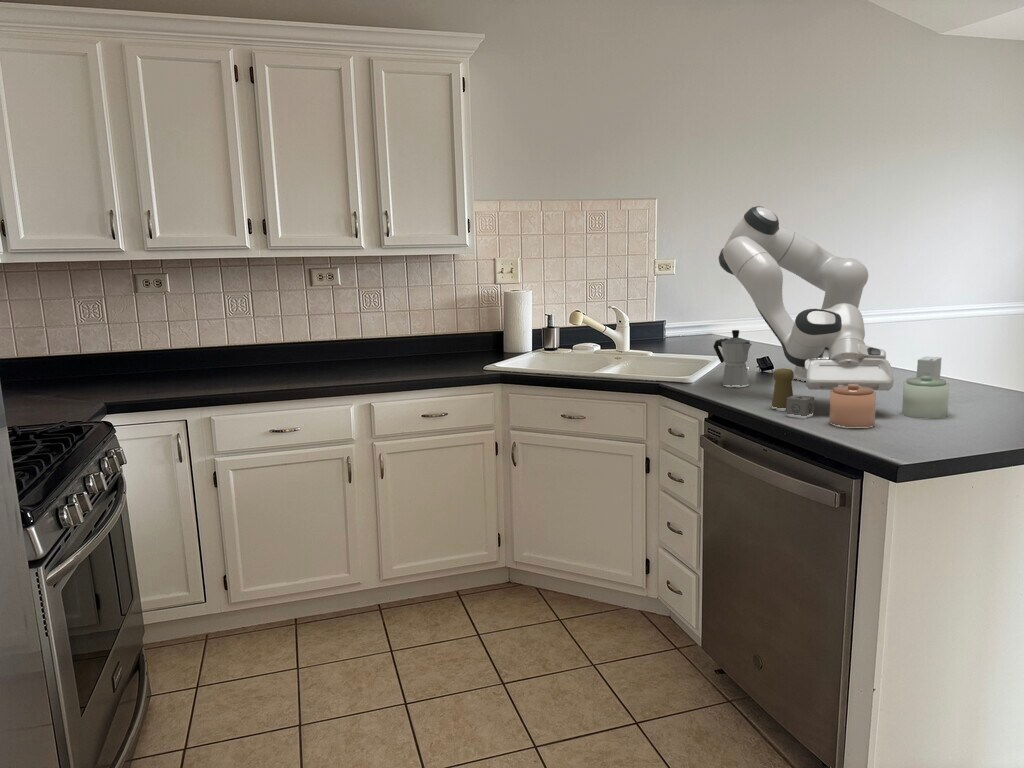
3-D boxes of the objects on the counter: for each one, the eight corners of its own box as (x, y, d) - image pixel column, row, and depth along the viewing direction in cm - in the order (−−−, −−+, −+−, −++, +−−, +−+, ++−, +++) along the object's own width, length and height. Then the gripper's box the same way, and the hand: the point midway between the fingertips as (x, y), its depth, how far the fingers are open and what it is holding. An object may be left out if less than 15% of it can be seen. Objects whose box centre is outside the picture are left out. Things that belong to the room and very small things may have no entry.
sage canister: (893, 414, 184) (895, 376, 183) (916, 408, 189) (918, 371, 187) (932, 421, 176) (934, 381, 174) (956, 414, 181) (958, 376, 179)
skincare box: (921, 399, 200) (923, 355, 198) (939, 401, 196) (942, 356, 194) (913, 403, 195) (915, 358, 193) (932, 404, 192) (934, 359, 190)
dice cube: (786, 416, 187) (786, 398, 187) (794, 413, 191) (795, 394, 190) (805, 419, 184) (805, 400, 183) (813, 415, 187) (814, 396, 186)
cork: (766, 408, 198) (766, 368, 196) (783, 405, 200) (783, 366, 198) (782, 412, 193) (783, 371, 191) (799, 409, 195) (800, 369, 193)
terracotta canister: (820, 423, 178) (821, 384, 177) (847, 417, 183) (848, 379, 181) (856, 431, 170) (857, 390, 168) (883, 424, 174) (885, 385, 172)
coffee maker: (760, 386, 230) (761, 329, 227) (742, 390, 225) (743, 332, 222) (723, 380, 242) (723, 327, 239) (705, 384, 237) (705, 329, 234)
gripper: (804, 350, 189) (805, 394, 182) (892, 350, 182) (896, 395, 175) (804, 364, 194) (804, 407, 187) (889, 365, 187) (892, 409, 180)
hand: (849, 402), depth 181 cm, fingers closed, pressing on terracotta canister
